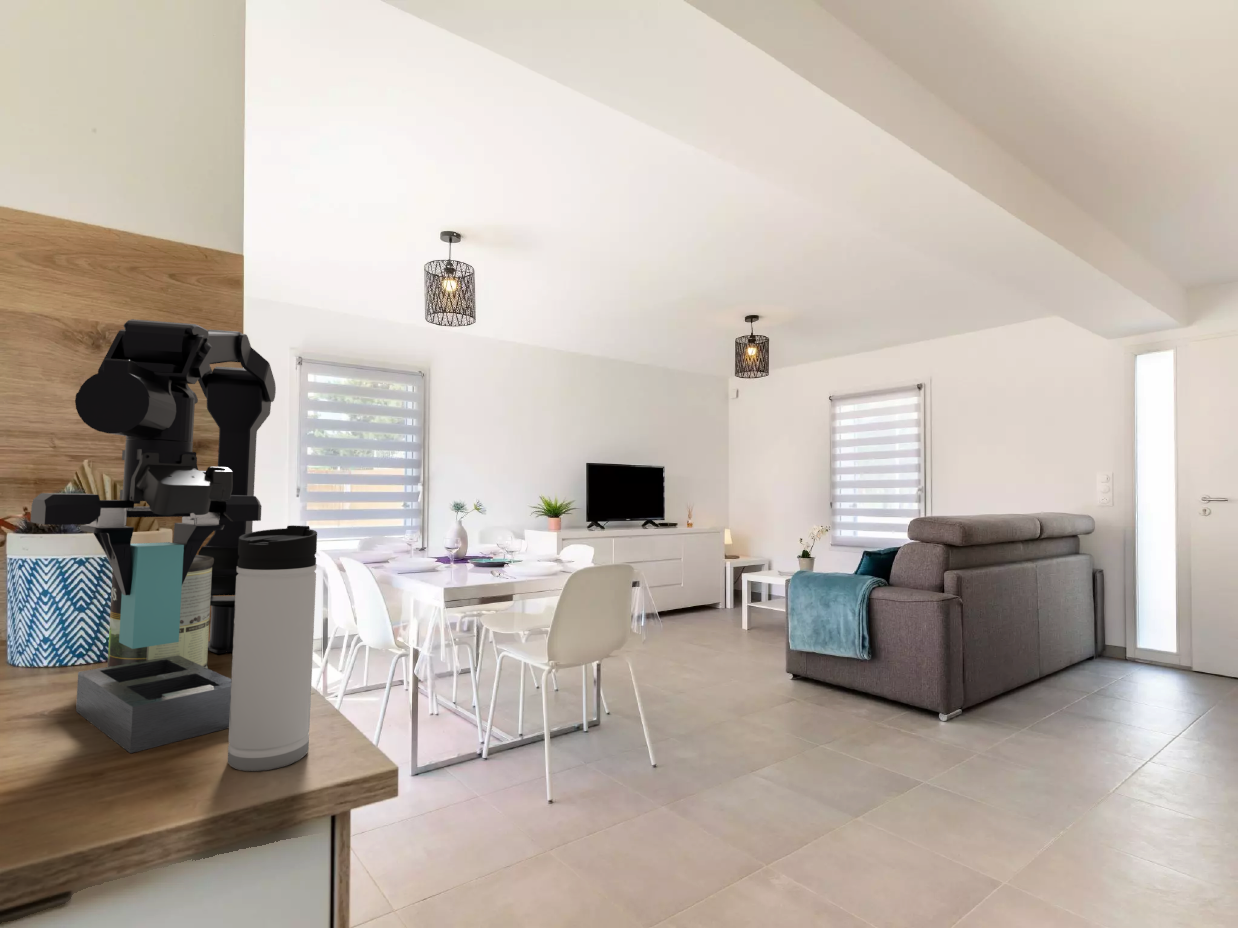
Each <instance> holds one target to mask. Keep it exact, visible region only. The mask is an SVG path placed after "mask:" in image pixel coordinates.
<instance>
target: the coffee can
mask: <svg viewBox="0 0 1238 928" xmlns="http://www.w3.org/2000/svg"><path fill="white" fill-rule="evenodd" d="M213 563H214V558H213V557H210V556H203V555H198V554H196V556H195V558H194V560H193V562H192V565H191V567H190V569H189V571H188V573H187V576H186V578H185V580H184V582H183V584H182V590H181V609H180V628H179V642H175V643H169V644H162V645H155V646H148V647H141V648H135V649H132V648H130V647H128V646H126V645H124V644H121V643H119V634H120V616H121V598H122V592H121V589H120V587H119V584H118V582H117V579H116V577H115V575H114V572H113V571H112V574H111V576H112V577H111V592H110V593H111V594H110V609H109V611H110V612H109V615H110V616H109V630H108V631H109V632H108V647H107V648H108V650H107V666H106V667H110V666H117V665H123V664H129V663H135V662H141V661H147V660H153V659H159V658H165V657H171V656H177V655H179V656H181V657H183V658H186V659H188V660H190V661H192V662H194V663H197V664H199V665H201V666H203V667H205V668H208V651H209V650H208V641H209V636H210V618H211V606H210V598H211V579H212V565H213ZM208 669H209V668H208Z"/></svg>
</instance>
